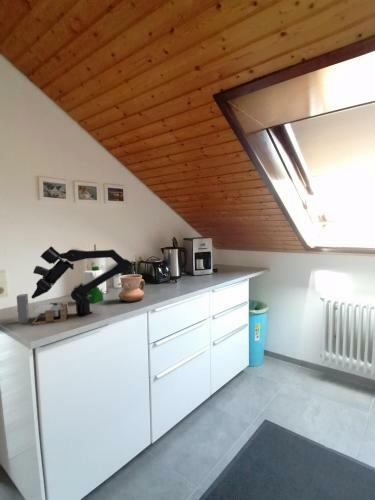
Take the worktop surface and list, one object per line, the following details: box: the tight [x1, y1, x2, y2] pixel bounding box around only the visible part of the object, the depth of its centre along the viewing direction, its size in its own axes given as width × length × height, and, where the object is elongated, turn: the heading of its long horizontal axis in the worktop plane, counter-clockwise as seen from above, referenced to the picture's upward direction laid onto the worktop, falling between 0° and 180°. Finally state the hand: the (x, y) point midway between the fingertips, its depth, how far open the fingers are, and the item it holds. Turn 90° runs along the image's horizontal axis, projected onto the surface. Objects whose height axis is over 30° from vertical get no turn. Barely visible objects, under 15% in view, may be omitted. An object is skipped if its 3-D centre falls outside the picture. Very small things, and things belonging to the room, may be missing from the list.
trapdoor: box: [34, 303, 62, 317], centre depth 136 cm, size 12×10×3 cm
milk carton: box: [82, 265, 104, 304], centre depth 166 cm, size 9×9×20 cm
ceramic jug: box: [117, 273, 146, 302], centre depth 166 cm, size 18×14×14 cm
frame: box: [32, 301, 70, 326], centre depth 137 cm, size 16×14×6 cm
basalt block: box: [16, 293, 31, 324], centre depth 133 cm, size 4×5×12 cm
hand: (34, 295), depth 134 cm, fingers open, 9 cm apart
